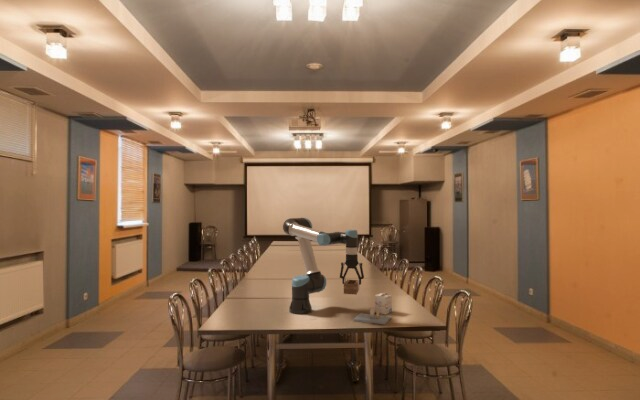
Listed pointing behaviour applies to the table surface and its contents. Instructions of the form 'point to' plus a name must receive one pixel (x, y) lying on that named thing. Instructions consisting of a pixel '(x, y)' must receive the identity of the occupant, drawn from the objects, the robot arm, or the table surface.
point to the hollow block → (351, 287)
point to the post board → (370, 320)
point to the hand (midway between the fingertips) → (351, 289)
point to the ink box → (383, 303)
